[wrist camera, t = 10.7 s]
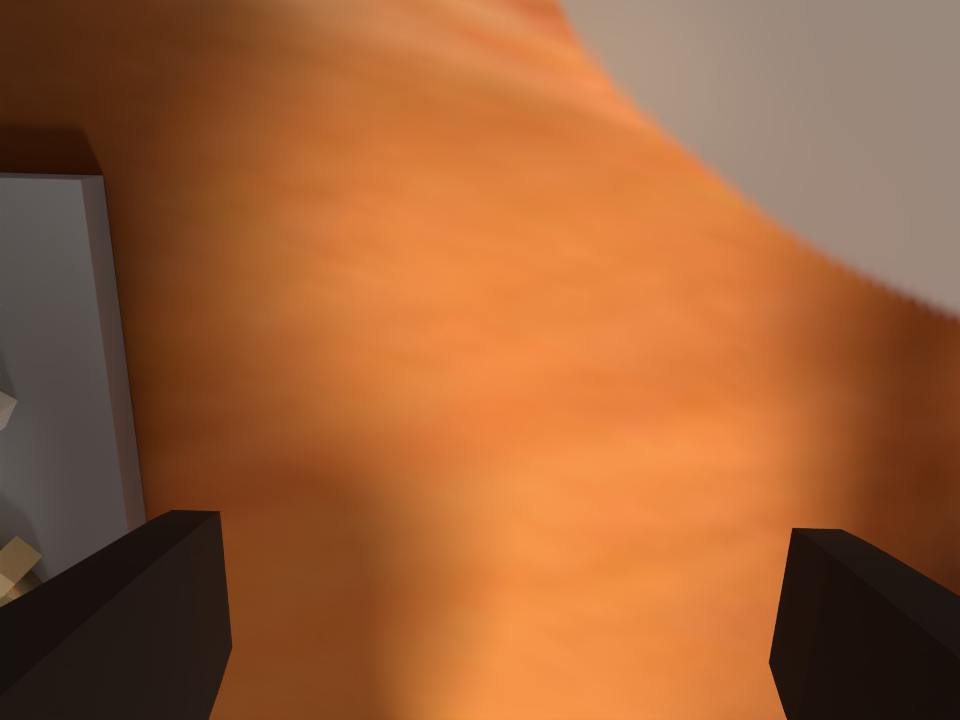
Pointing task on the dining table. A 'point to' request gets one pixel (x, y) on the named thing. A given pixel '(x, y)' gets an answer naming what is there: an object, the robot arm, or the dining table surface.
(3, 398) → the gear
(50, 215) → the gear board
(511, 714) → the dining table surface
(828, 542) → the robot arm
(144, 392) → the dining table surface
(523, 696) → the dining table surface
